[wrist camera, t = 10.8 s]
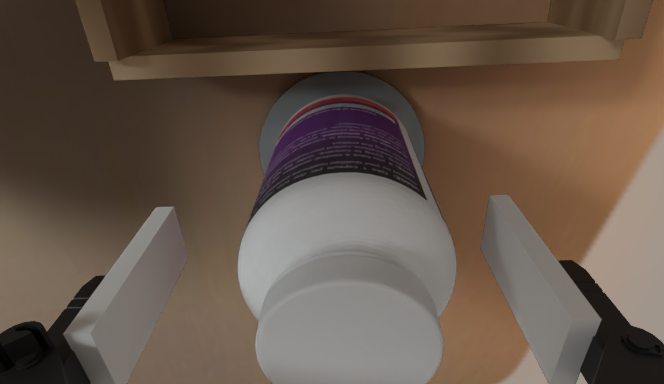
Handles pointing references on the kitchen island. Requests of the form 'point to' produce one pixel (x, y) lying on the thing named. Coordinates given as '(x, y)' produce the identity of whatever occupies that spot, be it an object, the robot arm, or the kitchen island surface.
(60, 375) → the robot arm
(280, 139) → the pill bottle
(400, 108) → the grey oval disc
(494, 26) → the wooden box
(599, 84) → the kitchen island surface
